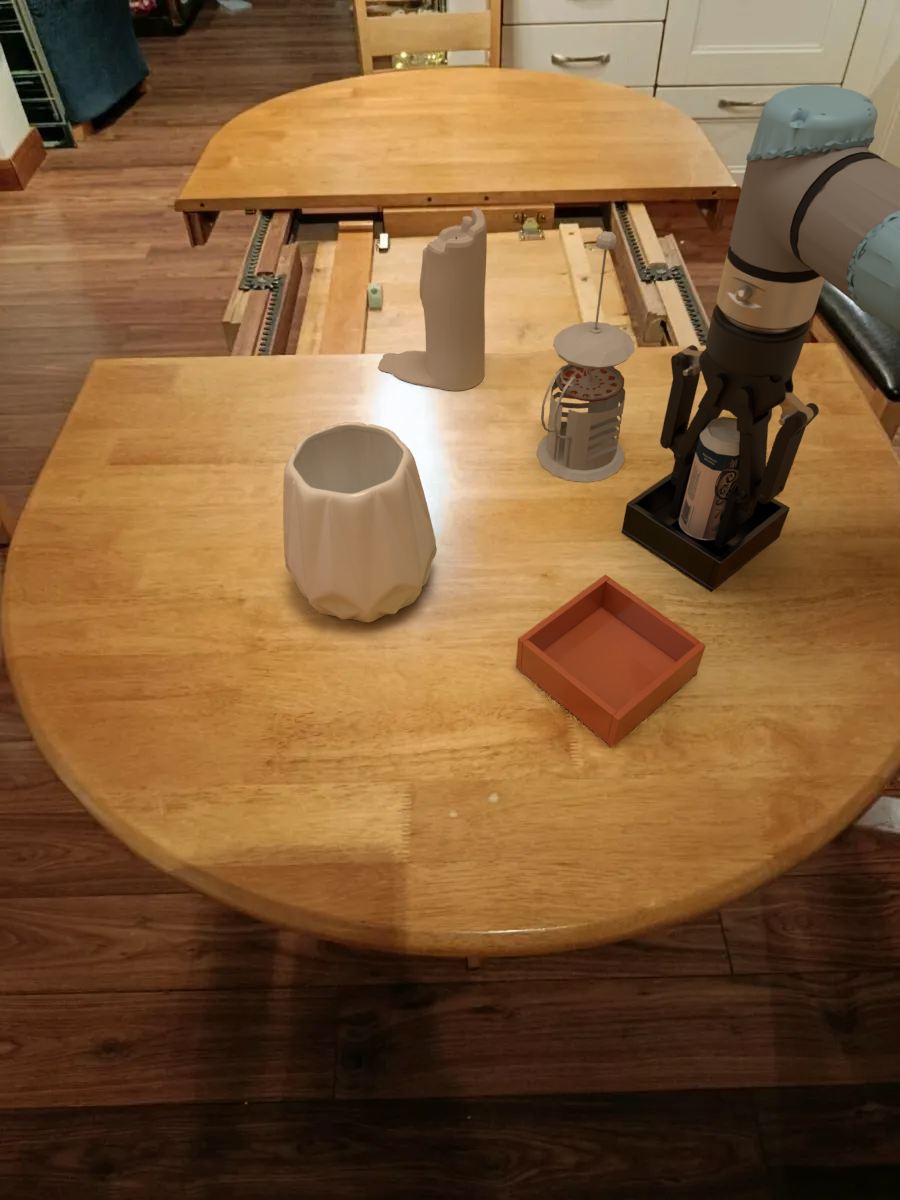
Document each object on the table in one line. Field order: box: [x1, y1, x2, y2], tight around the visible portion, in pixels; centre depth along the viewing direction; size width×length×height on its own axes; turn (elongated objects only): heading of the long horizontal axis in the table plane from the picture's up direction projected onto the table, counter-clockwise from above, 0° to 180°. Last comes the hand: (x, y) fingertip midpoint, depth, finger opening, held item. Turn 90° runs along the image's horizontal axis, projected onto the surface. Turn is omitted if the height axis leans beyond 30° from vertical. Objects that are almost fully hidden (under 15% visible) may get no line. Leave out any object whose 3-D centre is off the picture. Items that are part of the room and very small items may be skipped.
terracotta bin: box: [515, 574, 706, 748], centre depth 73 cm, size 11×11×4 cm
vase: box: [282, 421, 438, 623], centre depth 77 cm, size 14×14×15 cm
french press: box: [536, 230, 635, 483], centre depth 85 cm, size 10×12×25 cm
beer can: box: [679, 416, 740, 540], centre depth 81 cm, size 5×5×12 cm
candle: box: [377, 206, 488, 392], centre depth 99 cm, size 7×14×20 cm, turn 72°
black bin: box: [621, 472, 791, 593], centre depth 84 cm, size 11×11×4 cm
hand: (702, 525), depth 85 cm, fingers closed on beer can, 5 cm apart
